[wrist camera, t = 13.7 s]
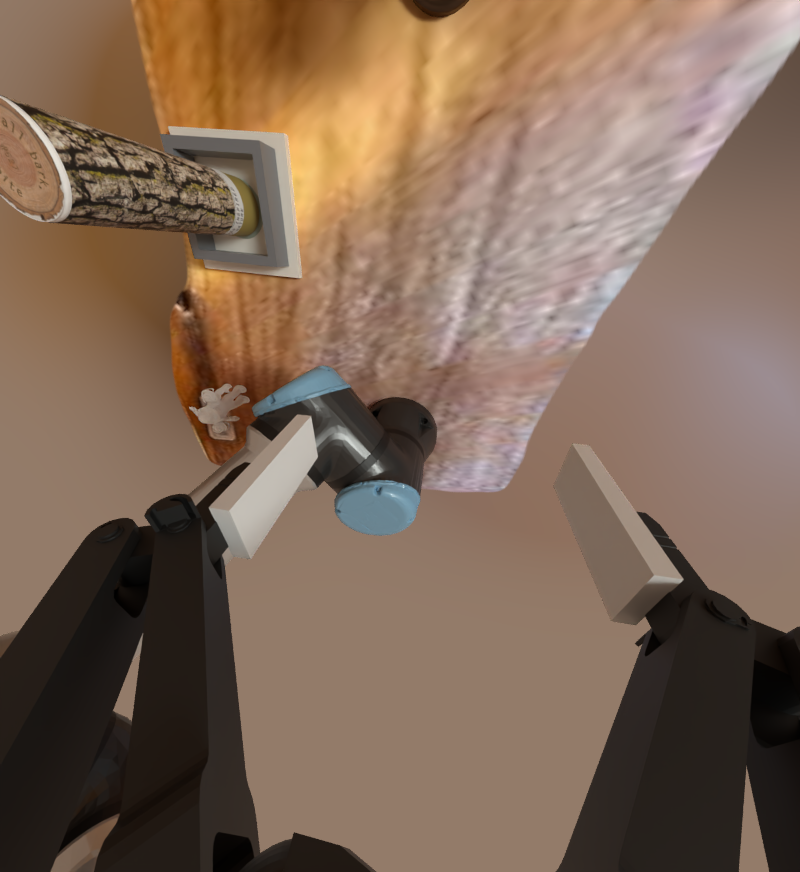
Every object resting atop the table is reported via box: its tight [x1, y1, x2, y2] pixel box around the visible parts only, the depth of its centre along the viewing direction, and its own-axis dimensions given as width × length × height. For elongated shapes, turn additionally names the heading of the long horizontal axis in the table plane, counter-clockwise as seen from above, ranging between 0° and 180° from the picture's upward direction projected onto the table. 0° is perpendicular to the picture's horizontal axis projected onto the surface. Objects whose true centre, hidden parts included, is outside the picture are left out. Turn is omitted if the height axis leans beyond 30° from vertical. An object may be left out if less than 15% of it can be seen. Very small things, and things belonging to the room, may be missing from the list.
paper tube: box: [0, 95, 259, 237], centre depth 30 cm, size 7×7×25 cm
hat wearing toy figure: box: [189, 384, 250, 433], centre depth 54 cm, size 9×4×12 cm, turn 176°
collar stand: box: [160, 126, 302, 278], centre depth 40 cm, size 16×16×4 cm
